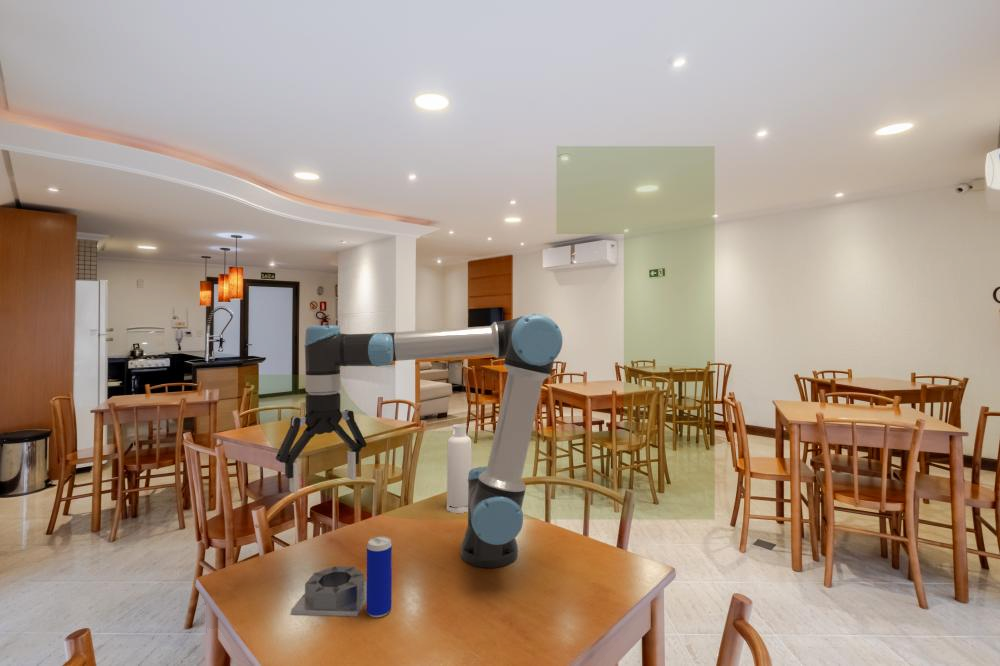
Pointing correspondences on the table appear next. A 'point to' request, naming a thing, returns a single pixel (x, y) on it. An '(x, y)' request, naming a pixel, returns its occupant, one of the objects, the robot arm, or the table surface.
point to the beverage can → (379, 576)
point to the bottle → (458, 469)
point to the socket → (333, 593)
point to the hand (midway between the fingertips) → (323, 485)
